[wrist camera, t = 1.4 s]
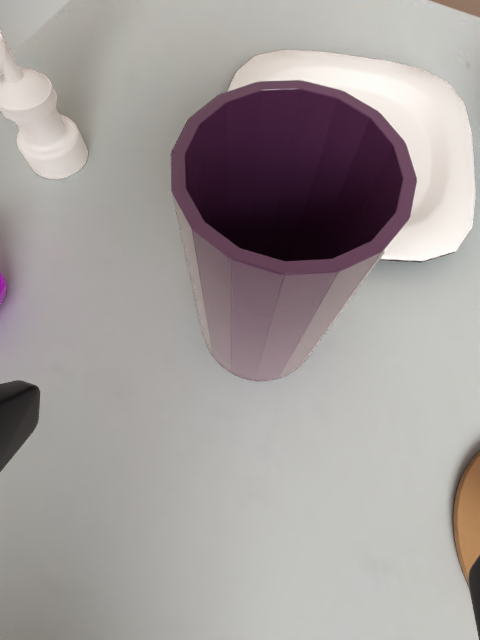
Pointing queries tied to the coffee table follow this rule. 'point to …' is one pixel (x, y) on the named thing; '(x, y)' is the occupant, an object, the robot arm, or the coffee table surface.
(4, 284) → the crystal
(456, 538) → the coaster
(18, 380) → the robot arm
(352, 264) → the tumbler
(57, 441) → the coffee table surface
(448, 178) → the plate
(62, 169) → the decorative finial
